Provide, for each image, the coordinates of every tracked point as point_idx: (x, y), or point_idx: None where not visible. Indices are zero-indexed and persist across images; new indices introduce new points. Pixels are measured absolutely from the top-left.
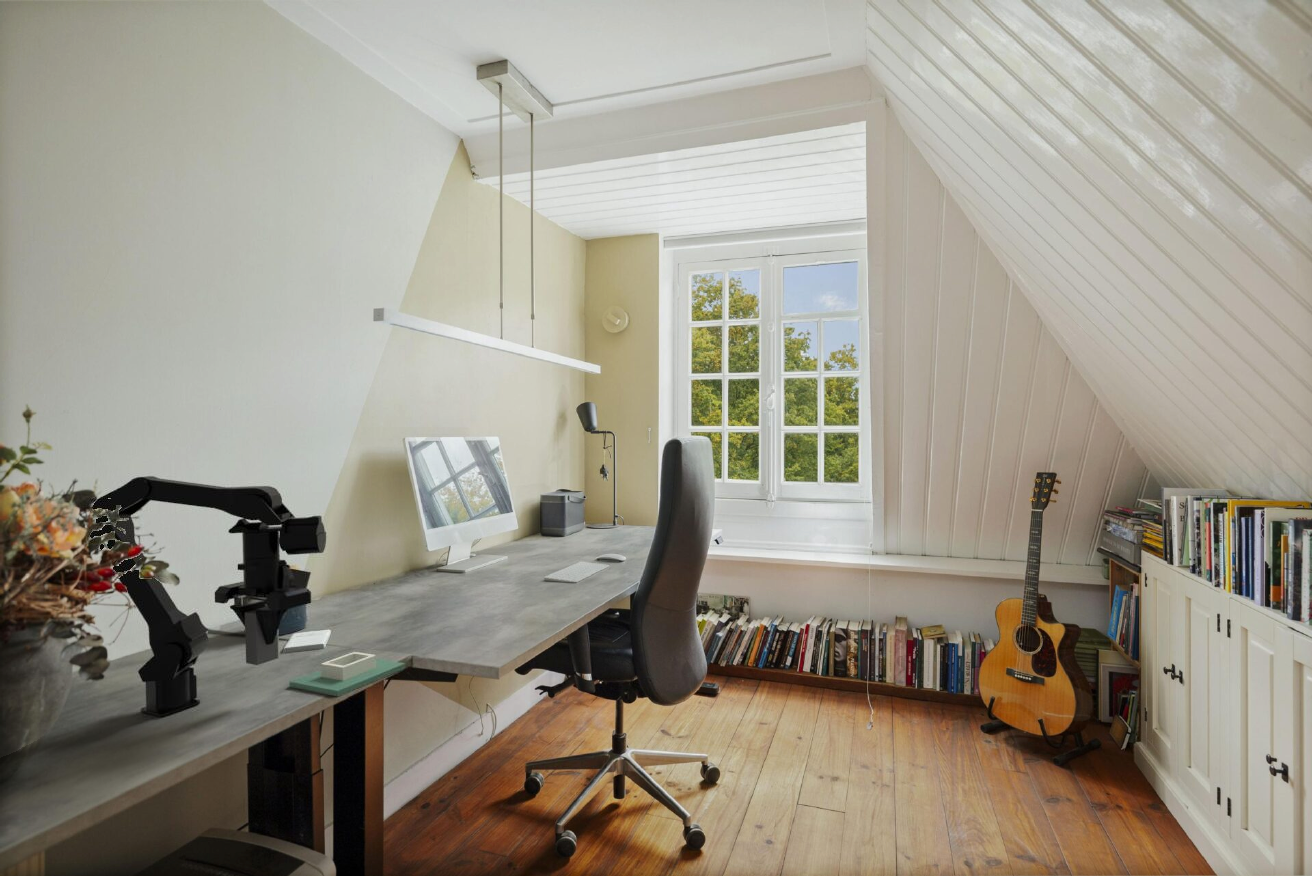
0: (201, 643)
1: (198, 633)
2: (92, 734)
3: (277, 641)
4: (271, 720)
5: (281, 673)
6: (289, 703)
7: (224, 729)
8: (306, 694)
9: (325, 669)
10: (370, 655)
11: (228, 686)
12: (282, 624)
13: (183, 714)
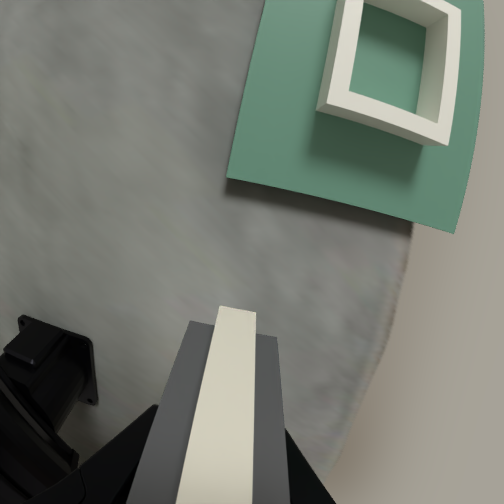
0: (13, 451)
1: (8, 492)
2: (74, 444)
3: (281, 398)
4: (362, 385)
5: (95, 75)
6: (339, 299)
7: (288, 430)
8: (343, 227)
9: (348, 113)
10: (446, 9)
11: (38, 216)
12: None
13: (118, 386)
